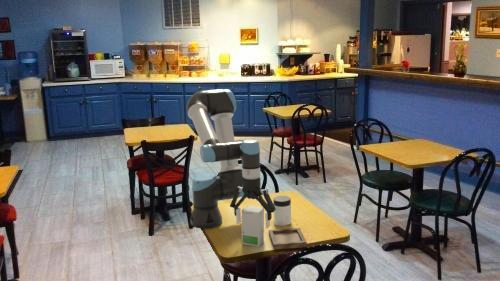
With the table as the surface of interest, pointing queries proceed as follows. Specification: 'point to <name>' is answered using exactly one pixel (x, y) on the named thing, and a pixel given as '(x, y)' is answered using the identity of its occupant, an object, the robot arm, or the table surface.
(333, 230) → the table surface
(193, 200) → the robot arm
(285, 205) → the jar
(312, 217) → the table surface
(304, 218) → the table surface
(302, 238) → the brown wooden tray
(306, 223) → the table surface
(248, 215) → the skincare box
